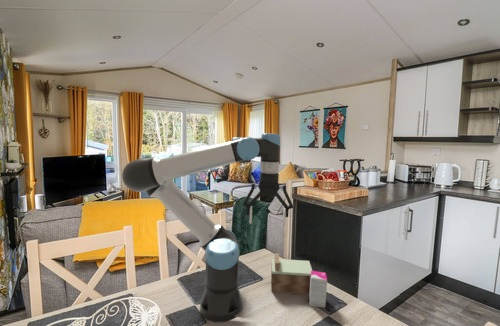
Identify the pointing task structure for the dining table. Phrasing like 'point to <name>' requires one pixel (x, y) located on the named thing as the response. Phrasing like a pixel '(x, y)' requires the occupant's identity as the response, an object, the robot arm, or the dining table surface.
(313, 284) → the supplement box
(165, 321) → the dining table surface
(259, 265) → the dining table surface
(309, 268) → the lid
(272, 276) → the box
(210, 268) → the robot arm
